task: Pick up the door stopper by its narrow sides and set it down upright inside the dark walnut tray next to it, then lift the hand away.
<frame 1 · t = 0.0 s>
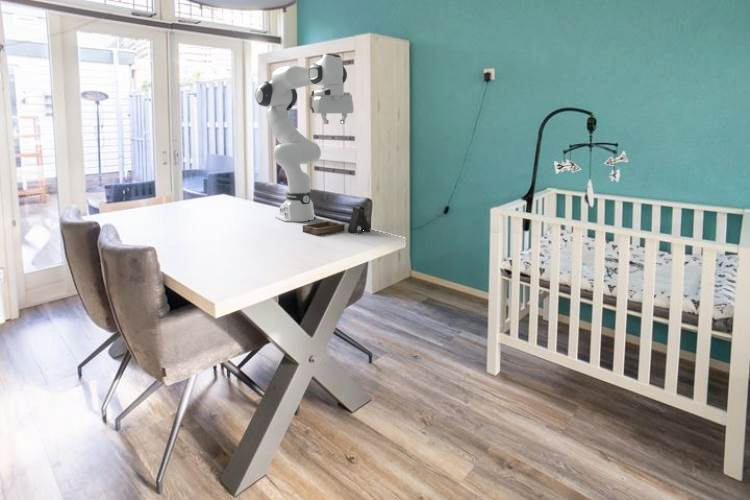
hand: (334, 124, 236), 48 cm above the table, fingers open, 8 cm apart
walnut tray: (323, 231, 242), on the table
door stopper: (358, 232, 240), on the table
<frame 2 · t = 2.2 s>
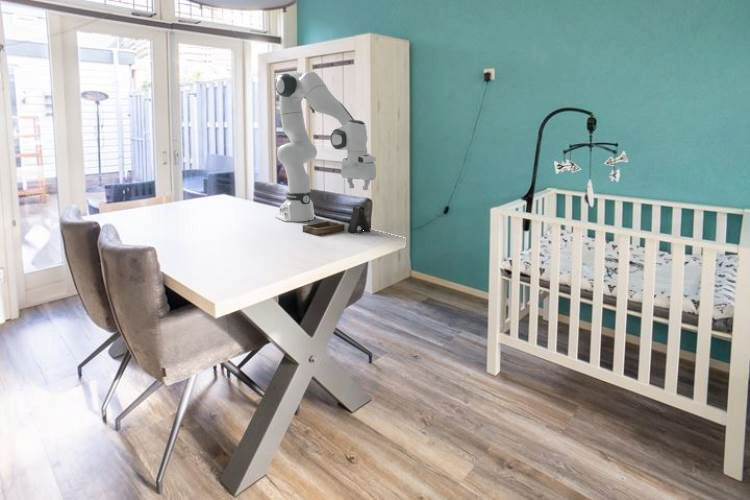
hand: (358, 189, 235), 20 cm above the table, fingers open, 8 cm apart
nothing on the table moved.
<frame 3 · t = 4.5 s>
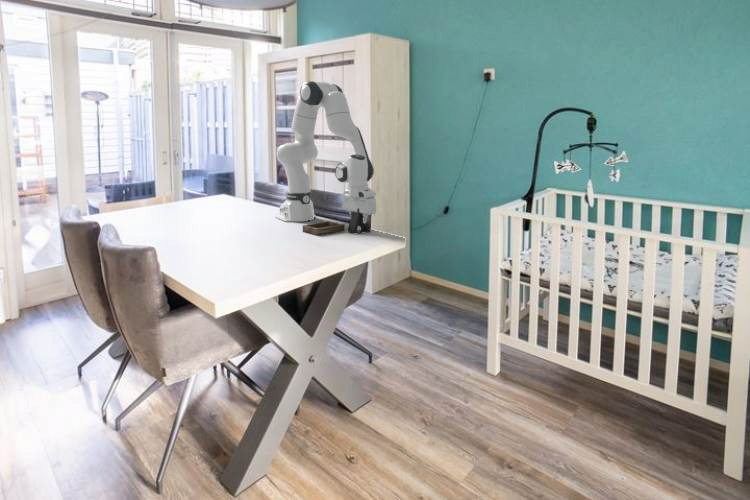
hand: (358, 221, 239), 5 cm above the table, fingers closed on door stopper, 6 cm apart
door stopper: (358, 232, 240), on the table, touching gripper
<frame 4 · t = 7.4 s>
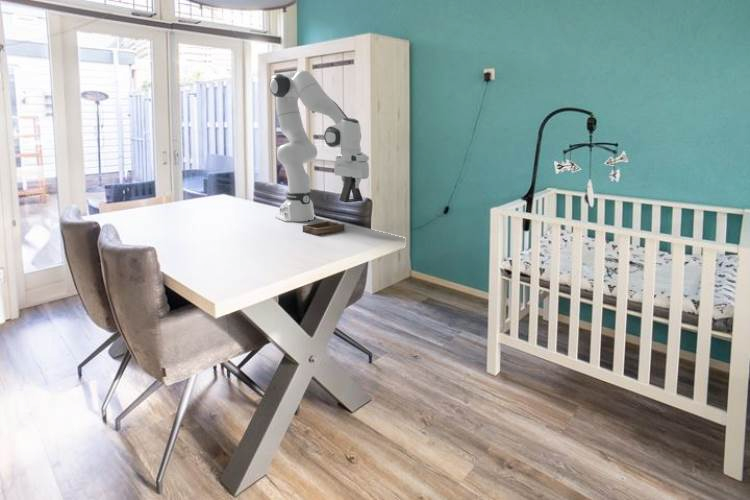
hand: (350, 187, 236), 20 cm above the table, fingers closed on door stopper, 6 cm apart
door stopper: (351, 201, 237), point 14 cm above the table, touching gripper
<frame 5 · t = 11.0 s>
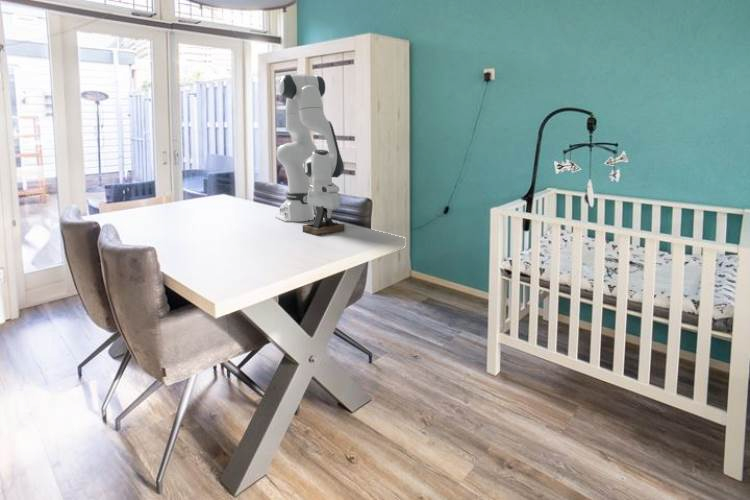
hand: (323, 216, 240), 7 cm above the table, fingers closed on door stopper, 6 cm apart
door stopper: (323, 229, 241), point 1 cm above the table, touching gripper, walnut tray
when the fingers open (7 cm above the table, at t = 11.9 s): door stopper stays where it is, resting on walnut tray.
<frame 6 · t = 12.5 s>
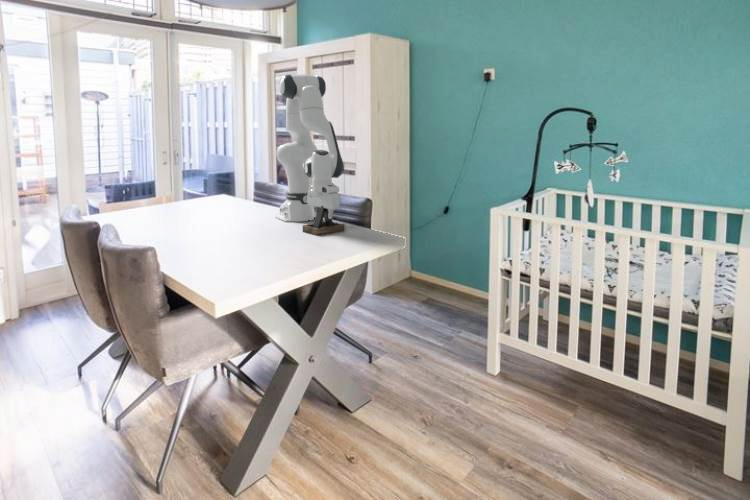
hand: (323, 217, 240), 7 cm above the table, fingers open, 8 cm apart
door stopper: (323, 229, 241), point 1 cm above the table, touching walnut tray
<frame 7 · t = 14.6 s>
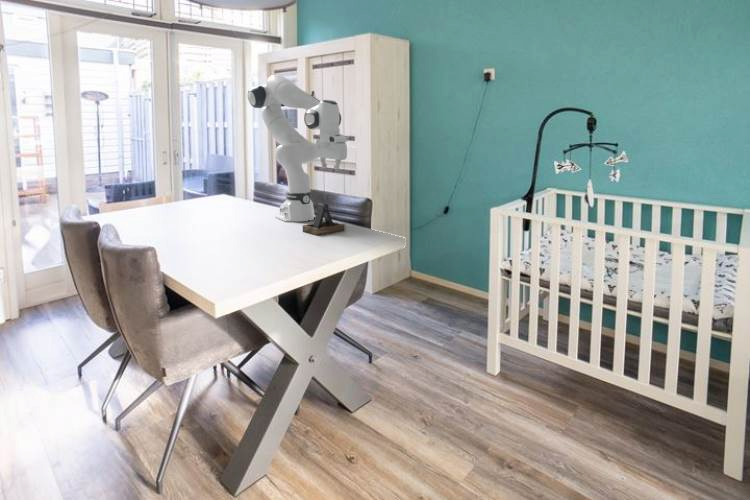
hand: (330, 168, 239), 28 cm above the table, fingers open, 8 cm apart
nothing on the table moved.
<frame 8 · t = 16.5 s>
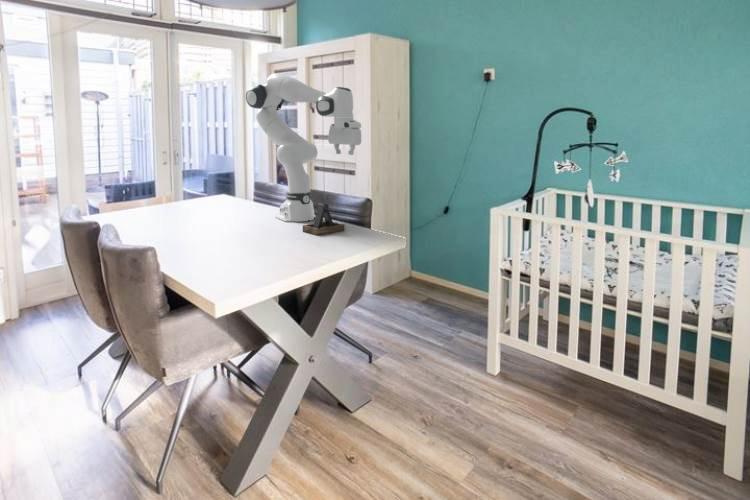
hand: (344, 154, 244), 34 cm above the table, fingers open, 8 cm apart
nothing on the table moved.
at the end: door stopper 0.1 cm off-centre on the walnut tray, point 0.8 cm above the walnut tray's base; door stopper tilted 0°; the gripper is holding nothing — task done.
